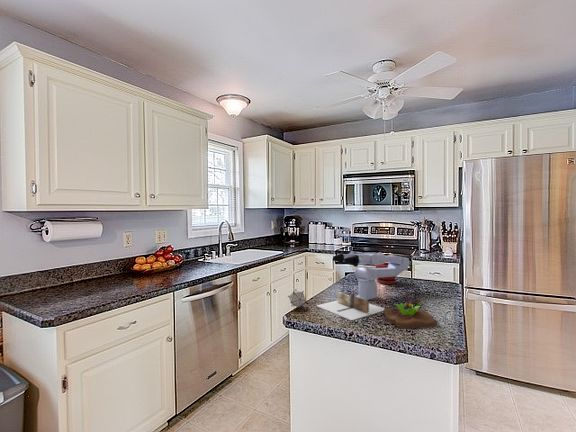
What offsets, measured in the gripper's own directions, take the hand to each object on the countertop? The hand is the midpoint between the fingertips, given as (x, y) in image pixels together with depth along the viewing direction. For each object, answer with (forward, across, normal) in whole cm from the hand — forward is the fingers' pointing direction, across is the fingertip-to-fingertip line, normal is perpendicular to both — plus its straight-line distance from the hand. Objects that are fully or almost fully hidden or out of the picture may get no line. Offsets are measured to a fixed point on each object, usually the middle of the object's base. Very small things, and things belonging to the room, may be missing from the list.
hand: (338, 259), depth 150 cm
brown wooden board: (-3, +13, +21) cm, 25 cm away
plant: (-12, +31, +21) cm, 40 cm away
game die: (+17, -8, +24) cm, 30 cm away
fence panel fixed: (-3, +4, +21) cm, 22 cm away
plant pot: (-56, -14, +17) cm, 60 cm away
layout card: (-2, +8, +22) cm, 23 cm away
